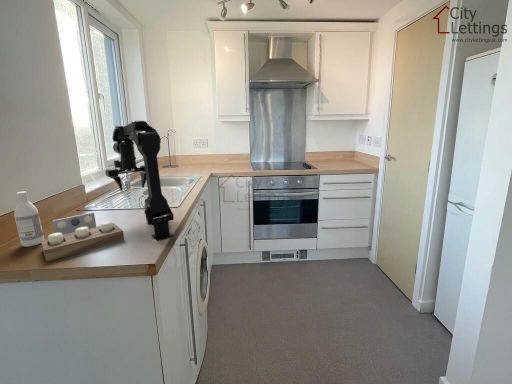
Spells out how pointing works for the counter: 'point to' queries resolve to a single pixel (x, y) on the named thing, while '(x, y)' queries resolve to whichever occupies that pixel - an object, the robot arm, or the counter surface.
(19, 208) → the bath foam
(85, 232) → the button middle
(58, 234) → the button
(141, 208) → the french press
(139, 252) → the counter surface
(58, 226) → the placard
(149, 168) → the robot arm
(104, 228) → the button
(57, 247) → the board
